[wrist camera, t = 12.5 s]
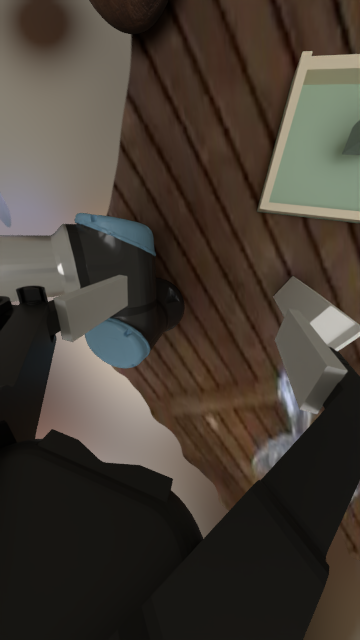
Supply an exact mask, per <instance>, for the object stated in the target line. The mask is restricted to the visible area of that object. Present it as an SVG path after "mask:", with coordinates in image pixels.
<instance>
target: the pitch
mask: <svg viewBox="0 0 360 640" xmlns="http://www.w3.org/2000/svg"><path fill="white" fill-rule="evenodd" d="M312 52H313V51H305V52H302V55H301V58H300V61H299V63H298V66H297V69H296V72H295V74H294V77H293V80H292V83H291V87H290V91H289V95H288V98H287V102H286V106H285V109H284V113H283V117H282V120H281V124H280V128H279V131H278V135H277V139H276V143H275V146H274V150H273V154H272V157H271V161H270V165H269V168H268V172H267V176H266V179H265V183H264V187H263V191H262V194H261V198H260V202H259V205H258V209H257V212H264V213H273V214H282V215H291V216H299V217H308V218H317V219H326V220H335V221H344V222H353V223H360V155H342V152H343V150H344V148H345V145H346V143H347V140H348V138H349V135H350V133H351V130H352V128H353V126H354V125H355V124H356V123H357V122H358V121H359V120H360V54H352V55H328V56H311V55H312Z"/></svg>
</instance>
